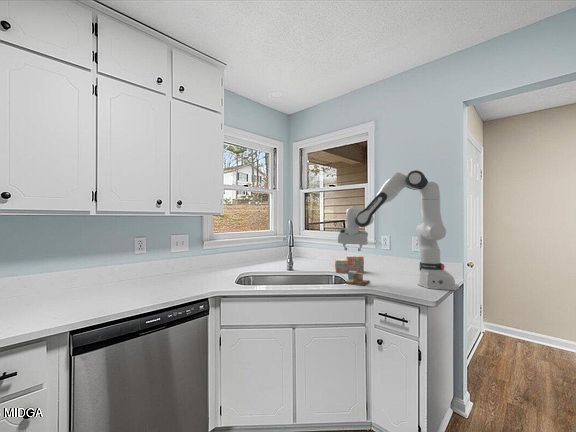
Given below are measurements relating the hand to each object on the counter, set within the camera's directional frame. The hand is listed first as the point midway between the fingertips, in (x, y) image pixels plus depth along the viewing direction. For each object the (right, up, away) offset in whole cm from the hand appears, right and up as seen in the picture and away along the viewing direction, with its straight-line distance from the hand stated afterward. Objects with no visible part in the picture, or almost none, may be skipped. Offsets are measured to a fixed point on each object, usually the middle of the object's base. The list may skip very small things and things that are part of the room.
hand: (352, 250), depth 203 cm
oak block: (+1, -18, -12) cm, 22 cm away
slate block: (+1, -20, +1) cm, 20 cm away
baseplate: (+1, -19, -12) cm, 23 cm away
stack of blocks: (+4, -20, +28) cm, 35 cm away
